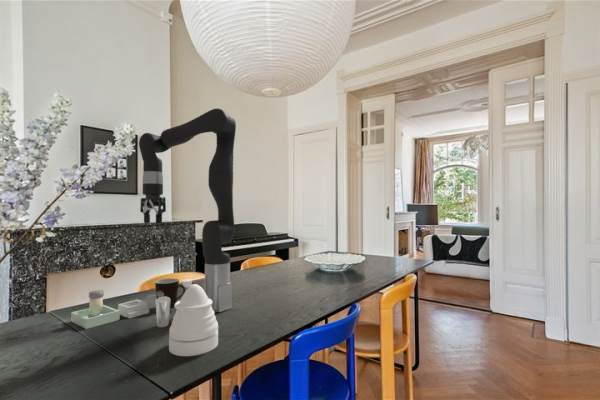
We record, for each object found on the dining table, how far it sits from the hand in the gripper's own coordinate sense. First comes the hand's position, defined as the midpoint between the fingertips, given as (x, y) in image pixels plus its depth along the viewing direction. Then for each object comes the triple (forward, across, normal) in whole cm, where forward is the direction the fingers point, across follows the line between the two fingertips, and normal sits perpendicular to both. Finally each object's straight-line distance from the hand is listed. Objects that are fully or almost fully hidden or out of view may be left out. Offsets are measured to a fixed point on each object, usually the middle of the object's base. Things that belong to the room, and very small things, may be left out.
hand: (152, 223), depth 127 cm
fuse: (+31, -3, +22) cm, 38 cm away
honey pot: (+33, -47, +16) cm, 59 cm away
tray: (+32, -3, +22) cm, 39 cm away
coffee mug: (+32, -11, 0) cm, 34 cm away
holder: (+32, -6, +11) cm, 34 cm away
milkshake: (+32, -26, +12) cm, 44 cm away
